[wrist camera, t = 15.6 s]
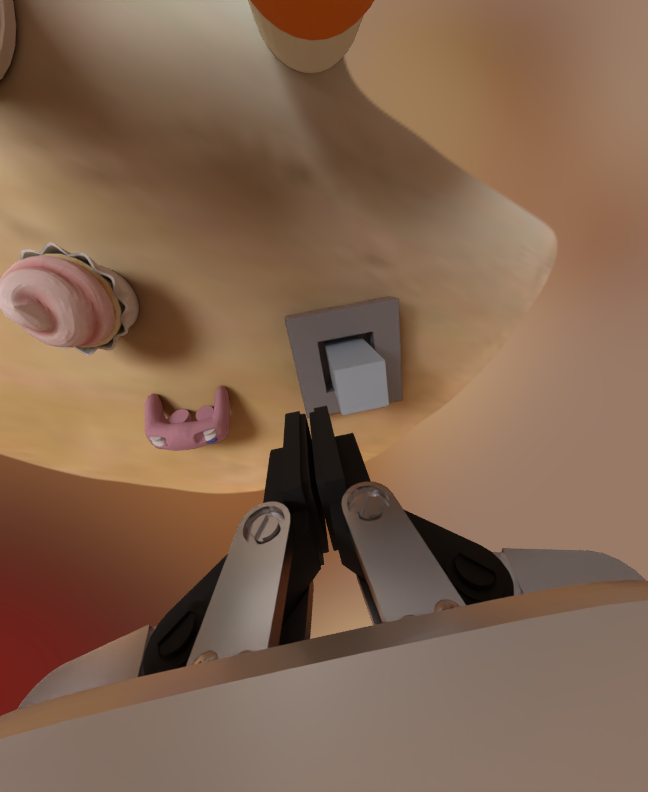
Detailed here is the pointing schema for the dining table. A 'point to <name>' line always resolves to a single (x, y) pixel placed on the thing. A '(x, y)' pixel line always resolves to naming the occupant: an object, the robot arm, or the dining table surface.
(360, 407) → the plug
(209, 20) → the dining table surface
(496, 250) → the dining table surface
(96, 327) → the cupcake
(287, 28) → the reusable coffee cup
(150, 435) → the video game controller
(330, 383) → the socket
